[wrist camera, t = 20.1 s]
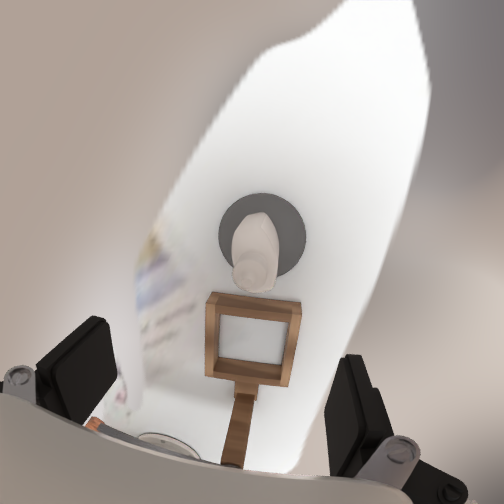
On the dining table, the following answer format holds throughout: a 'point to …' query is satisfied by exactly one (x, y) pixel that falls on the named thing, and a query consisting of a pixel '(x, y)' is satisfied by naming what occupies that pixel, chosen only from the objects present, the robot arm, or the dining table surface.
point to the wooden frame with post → (247, 362)
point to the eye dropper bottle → (255, 253)
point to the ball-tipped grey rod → (139, 441)
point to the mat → (282, 218)
